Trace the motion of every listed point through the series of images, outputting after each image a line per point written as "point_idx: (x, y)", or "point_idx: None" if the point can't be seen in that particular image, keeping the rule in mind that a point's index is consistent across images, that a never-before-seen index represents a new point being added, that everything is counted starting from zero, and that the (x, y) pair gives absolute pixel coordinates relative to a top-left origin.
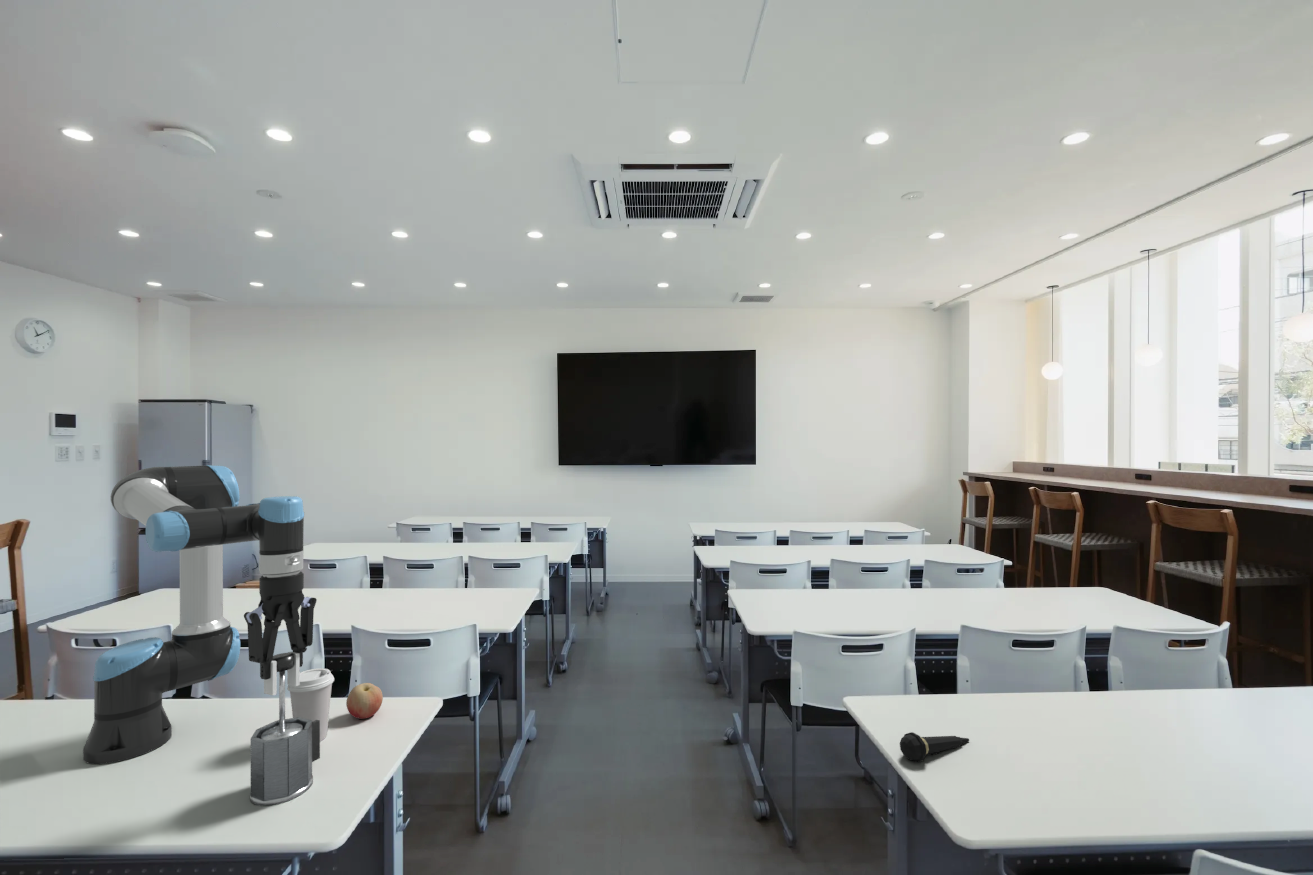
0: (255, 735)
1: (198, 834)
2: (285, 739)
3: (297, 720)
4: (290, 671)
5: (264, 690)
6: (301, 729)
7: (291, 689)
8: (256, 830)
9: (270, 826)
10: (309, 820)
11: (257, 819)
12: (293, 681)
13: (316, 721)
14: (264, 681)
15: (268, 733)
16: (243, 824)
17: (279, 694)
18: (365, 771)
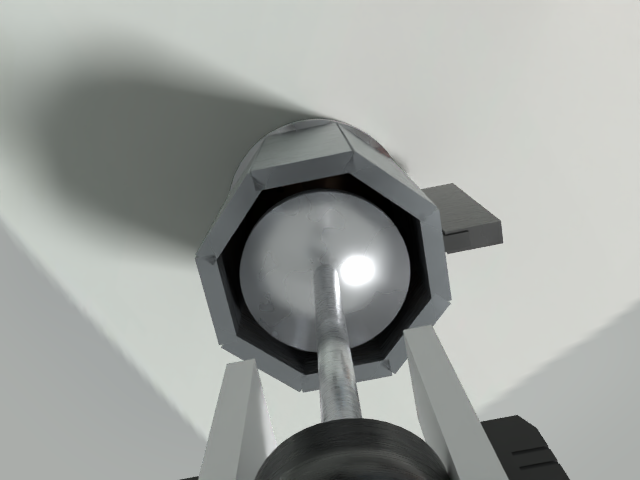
0: (221, 239)
1: (80, 249)
2: (292, 386)
3: (419, 224)
4: (431, 425)
5: (225, 380)
6: (386, 325)
7: None
8: (192, 356)
9: (222, 368)
10: (295, 421)
11: None
12: (420, 410)
13: (488, 242)
14: (214, 424)
15: (277, 243)
16: (177, 301)
17: (319, 370)
18: (513, 321)
